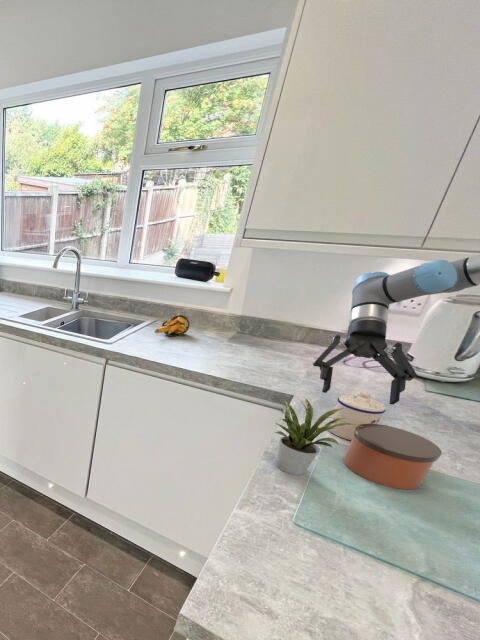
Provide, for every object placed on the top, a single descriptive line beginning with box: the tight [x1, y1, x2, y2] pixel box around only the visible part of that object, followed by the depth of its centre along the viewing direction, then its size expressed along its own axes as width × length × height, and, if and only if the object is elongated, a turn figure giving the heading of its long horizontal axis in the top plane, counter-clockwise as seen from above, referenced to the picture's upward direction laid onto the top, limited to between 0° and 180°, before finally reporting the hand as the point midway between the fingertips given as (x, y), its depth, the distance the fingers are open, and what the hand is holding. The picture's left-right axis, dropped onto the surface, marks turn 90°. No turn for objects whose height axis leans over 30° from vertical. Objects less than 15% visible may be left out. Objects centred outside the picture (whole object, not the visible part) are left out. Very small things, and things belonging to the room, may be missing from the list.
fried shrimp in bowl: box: [154, 314, 191, 337], centre depth 178 cm, size 9×11×18 cm
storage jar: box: [342, 423, 442, 490], centre depth 91 cm, size 14×14×8 cm
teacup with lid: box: [328, 391, 387, 441], centre depth 105 cm, size 12×9×12 cm
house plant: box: [273, 398, 363, 476], centre depth 90 cm, size 14×14×16 cm
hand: (359, 396), depth 107 cm, fingers open, 13 cm apart
